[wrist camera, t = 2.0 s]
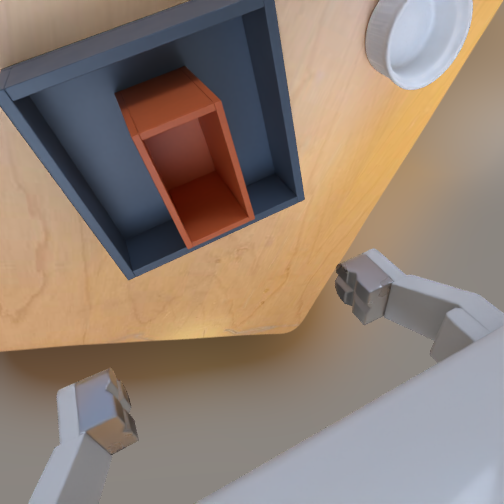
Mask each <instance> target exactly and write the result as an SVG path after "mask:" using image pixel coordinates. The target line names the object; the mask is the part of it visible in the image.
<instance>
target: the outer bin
mask: <svg viewBox="0 0 504 504" xmlns="http://www.w3.org/2000/svg"><path fill="white" fill-rule="evenodd" d="M183 66H186V67H187V68H188V69H189V70H190V71H191V72H192V73H193V74H194V75H195V76H196V77H197V78H198V79H199V80H200V81H201V82H202V83H203V84H204V85H205V86H206V87H207V88H209V89H210V90H211V91H212V92H213V93H214V94H215V95H216V96H217V97H218V98H219V99H220V100H221V102H222V105H223V109H224V112H225V116H226V119H227V123H228V126H229V129H230V133H231V136H232V140H233V143H234V147H235V150H236V154H237V157H238V161H239V164H240V168H241V171H242V174H243V178H244V181H245V185H246V188H247V192H248V195H249V199H250V202H251V206H252V209H253V213H254V216H255V219H254V220H252V221H249V222H247V223H245V224H243V225H241V226H238V227H236V228H234V229H232V230H230V231H228V232H225V233H223V234H221V235H219V236H217V237H214V238H212V239H210V240H208V241H206V242H203V243H201V244H199V245H197V246H195V247H194V246H193V248H190V249H187V247H186V245H185V243H184V241H183V239H182V237H181V235H180V233H179V231H178V229H177V227H176V225H175V223H174V221H173V219H172V217H171V215H170V213H169V211H168V209H167V207H166V205H165V203H164V201H163V199H162V197H161V195H160V193H159V191H158V189H157V187H156V185H155V183H154V181H153V179H152V177H151V175H150V174H149V172H148V170H147V168H146V166H145V164H144V162H143V160H142V158H141V156H140V154H139V152H138V150H137V148H136V146H135V144H134V142H133V140H132V138H131V135H130V133H129V130H128V128H127V125H126V123H125V120H124V117H123V115H122V112H121V110H120V107H119V105H118V102H117V99H116V97H115V94H114V93H116V92H119V91H121V90H124V89H127V88H129V87H132V86H134V85H137V84H139V83H142V82H145V81H147V80H150V79H152V78H155V77H157V76H160V75H163V74H165V73H168V72H170V71H173V70H176V69H178V68H181V67H183ZM0 107H1V108H2V109H3V111H4V112H5V113H6V115H7V116H8V117H9V119H10V120H11V122H12V123H13V124H14V126H15V127H16V128H17V130H18V131H19V132H20V134H21V135H22V137H23V138H24V139H25V141H26V142H27V143H28V145H29V146H30V147H31V149H32V150H33V151H34V153H35V154H36V156H37V157H38V158H39V160H40V161H41V162H42V164H43V165H44V166H45V168H46V169H47V170H48V172H49V173H50V175H51V176H52V177H53V179H54V180H55V181H56V183H57V184H58V185H59V187H60V188H61V189H62V191H63V192H64V194H65V195H66V196H67V198H68V199H69V200H70V202H71V203H72V204H73V206H74V207H75V208H76V210H77V211H78V213H79V214H80V215H81V217H82V218H83V219H84V221H85V222H86V223H87V225H88V226H89V227H90V229H91V230H92V232H93V233H94V234H95V236H96V237H97V238H98V240H99V241H100V242H101V244H102V245H103V247H104V248H105V249H106V251H107V252H108V253H109V255H110V256H111V257H112V259H113V260H114V261H115V263H116V264H117V266H118V267H119V268H120V270H121V271H122V272H123V274H124V275H125V276H126V278H127V279H128V280H130V279H133V278H135V277H137V276H139V275H142V274H144V273H146V272H148V271H150V270H152V269H155V268H157V267H159V266H161V265H163V264H166V263H168V262H170V261H172V260H174V259H176V258H179V257H181V256H183V255H185V254H187V253H190V252H192V251H194V250H196V249H198V248H200V247H203V246H205V245H207V244H209V243H211V242H213V241H216V240H218V239H220V238H222V237H224V236H227V235H229V234H231V233H233V232H235V231H237V230H240V229H242V228H244V227H246V226H248V225H250V224H253V223H255V222H257V221H259V220H261V219H264V218H266V217H268V216H270V215H272V214H274V213H277V212H279V211H281V210H283V209H285V208H287V207H290V206H292V205H294V204H296V203H298V202H300V201H303V200H305V198H304V191H303V185H302V178H301V171H300V165H299V158H298V152H297V145H296V139H295V132H294V126H293V119H292V112H291V106H290V99H289V93H288V86H287V80H286V73H285V67H284V60H283V53H282V47H281V40H280V34H279V27H278V21H277V14H276V8H275V1H274V0H190V1H188V2H185V3H182V4H179V5H177V6H174V7H171V8H168V9H166V10H163V11H160V12H157V13H155V14H152V15H149V16H146V17H144V18H141V19H138V20H135V21H133V22H130V23H127V24H124V25H122V26H119V27H116V28H113V29H111V30H108V31H105V32H102V33H100V34H97V35H94V36H91V37H89V38H86V39H83V40H81V41H78V42H75V43H72V44H70V45H67V46H64V47H61V48H59V49H56V50H53V51H50V52H48V53H45V54H42V55H39V56H37V57H34V58H31V59H28V60H26V61H23V62H20V63H17V64H15V65H12V66H9V67H6V68H4V69H2V70H1V72H0Z"/></svg>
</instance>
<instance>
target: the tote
mask: <svg viewBox="0 0 504 504" xmlns="http://www.w3.org/2000/svg"><path fill="white" fill-rule="evenodd" d="M114 94H115V97H116V99H117V102H118V105H119V107H120V110H121V112H122V115H123V117H124V120H125V123H126V125H127V128H128V130H129V133H130V135H131V138H132V140H133V142H134V144H135V146H136V148H137V150H138V152H139V154H140V156H141V158H142V160H143V162H144V164H145V166H146V168H147V170H148V172H149V174H150V175H151V177H152V179H153V181H154V183H155V185H156V187H157V189H158V191H159V193H160V195H161V197H162V199H163V201H164V203H165V205H166V207H167V209H168V211H169V213H170V215H171V217H172V219H173V221H174V223H175V225H176V227H177V229H178V231H179V233H180V235H181V237H182V239H183V241H184V243H185V245H186V247H187V249H190V248H193V246H194V247H195V246H197V245H199V244H201V243H203V242H206V241H208V240H210V239H212V238H214V237H217V236H219V235H221V234H223V233H225V232H228V231H230V230H232V229H234V228H236V227H238V226H241V225H243V224H245V223H247V222H249V221H252V220H254V219H255V216H254V213H253V209H252V206H251V202H250V199H249V195H248V192H247V188H246V185H245V181H244V178H243V174H242V171H241V168H240V164H239V161H238V157H237V154H236V150H235V147H234V143H233V140H232V136H231V133H230V129H229V126H228V123H227V119H226V116H225V112H224V109H223V105H222V102H221V100H220V99H219V98H218V97H217V96H216V95H215V94H214V93H213V92H212V91H211V90H210V89H209V88H207V87H206V86H205V85H204V84H203V83H202V82H201V81H200V80H199V79H198V78H197V77H196V76H195V75H194V74H193V73H192V72H191V71H190V70H189V69H188V68H187V67H186V66H183V67H181V68H178V69H176V70H173V71H170V72H168V73H165V74H163V75H160V76H157V77H155V78H152V79H150V80H147V81H145V82H142V83H139V84H137V85H134V86H132V87H129V88H127V89H124V90H121V91H119V92H116V93H114Z"/></svg>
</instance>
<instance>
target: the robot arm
mask: <svg viewBox="0 0 504 504" xmlns="http://www.w3.org/2000/svg"><path fill="white" fill-rule="evenodd" d="M336 273H337V274H338V277H337V279H336V280H335V288H336V291H337V294H338V295H339V297H340V299H341V300H342V301H343V302H344V303H345V304H348V305H351V306H352V312H353V313H354V315H355V316H356V317H357V318H358V319H359V320H360V321H361V322H362V324H363V325H366V324H368V323H370V322H372V321H374V320H376V319H378V318H381V317H382V316H384V317H385V318H386V319H389V320H391V321H393V322H395V323H397V324H399V325H402V326H404V327H406V328H408V329H410V330H412V331H415V332H417V333H419V334H421V335H423V336H425V337H428V338H430V339H432V340H434V343H433V346H432V348H431V350H430V356H431V357H432V358H433V359H434V360H435V361H436V362H437V364H435V365H434V366H432V367H430V368H428V369H427V370H425V371H423V372H421V373H420V374H418V375H416V376H415V377H413V378H411V379H409V380H408V381H406V382H404V383H402V384H401V385H399V386H398V387H395V388H394V389H392V390H390V391H389V392H387V393H385V394H383V395H382V396H380V397H378V398H376V399H375V400H373V401H371V402H369V403H368V404H366V405H364V406H362V407H361V408H359V409H357V410H356V411H354V412H352V413H350V414H349V415H347V416H345V417H343V418H342V419H340V420H338V421H337V422H335V423H333V424H331V425H330V426H328V427H326V428H324V429H323V430H321V431H319V432H317V433H316V434H314V435H312V436H310V437H309V438H307V439H305V440H303V441H302V442H300V443H299V444H296V445H295V446H293V447H291V448H290V449H288V450H286V451H284V452H283V453H281V454H280V455H277V456H276V457H274V458H272V459H270V460H269V461H267V462H266V463H264V464H262V465H260V466H258V467H257V468H255V469H253V470H251V471H250V472H248V473H247V474H244V475H243V476H241V477H239V478H238V479H236V480H234V481H232V482H231V483H229V484H227V485H225V486H224V487H222V488H220V489H218V490H217V491H215V492H213V493H212V494H210V495H208V496H206V497H205V498H203V499H201V500H199V501H198V502H196V503H194V504H504V314H503V313H502V312H501V311H500V310H498V309H497V308H496V307H495V306H493V305H492V304H490V303H489V302H488V301H487V300H486V299H484V298H483V297H482V296H480V295H479V294H476V293H473V292H469V291H466V290H463V289H459V288H456V287H452V286H449V285H445V284H442V283H438V282H435V281H432V280H428V279H425V278H422V277H418V276H414V275H406V274H404V273H403V272H402V271H401V270H400V269H399V268H398V267H396V266H395V265H394V264H393V263H392V262H391V261H390V260H388V259H387V258H386V257H385V256H384V255H383V254H381V253H380V252H379V251H378V250H376V249H371V250H369V251H366V252H364V253H362V254H359V255H357V256H355V257H353V258H351V259H349V260H346V261H344V262H342V263H340V264H338V265H337V267H336ZM130 409H131V404H130V399H129V396H128V394H127V391H126V389H125V387H124V385H123V383H122V382H121V380H118V379H116V376H115V372H114V371H113V370H112V369H111V368H108V369H106V370H104V371H101V372H100V373H97V374H94V375H92V376H90V377H88V378H85V379H83V380H81V381H78V382H76V383H73V384H71V385H69V386H67V387H65V388H62V389H60V390H58V393H57V410H58V422H59V423H58V424H59V439H60V445H58V446H57V447H55V448H54V450H53V452H52V454H51V456H50V459H49V460H48V463H47V465H46V467H45V469H44V471H43V473H42V475H41V477H40V479H39V482H38V484H37V486H36V488H35V490H34V492H33V494H32V496H31V498H30V501H29V503H28V504H99V501H100V498H101V494H102V490H103V487H104V484H105V480H106V477H107V473H108V470H109V466H110V463H111V459H112V456H111V455H113V454H114V453H116V452H118V451H120V450H122V449H124V448H126V447H127V446H129V445H131V444H133V443H135V442H137V441H138V440H139V439H138V434H137V430H136V425H135V421H134V419H133V418H132V417H131V416H130V414H129V412H130Z"/></svg>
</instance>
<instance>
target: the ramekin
mask: <svg viewBox="0 0 504 504" xmlns="http://www.w3.org/2000/svg"><path fill="white" fill-rule="evenodd" d="M472 11H473V1H472V0H380V1H379V2H378V4H377V5H376V7H375V9H374V11H373V13H372V15H371V17H370V20H369V23H368V27H367V32H366V40H365V47H366V54H367V58H368V60H369V62H370V64H371V65H372V67H373V68H374V69H375V70H377V71H378V72H379V73H381V74H383V75H384V76H386V77H388V78H390V79H391V80H392V82H394V83H395V84H396V85H397V86H399V87H401V88H403V89H407V90H415V89H420V88H423V87H425V86H427V85H429V84H430V83H432V82H433V81H435V80H436V79H437V78H439V77H440V76H441V75H442V74H443V73H444V72H445V71H446V70H447V69H448V67H449V66H450V65H451V64H452V62H453V61H454V60H455V58H456V57H457V55H458V53H459V52H460V50H461V48H462V46H463V44H464V42H465V39H466V37H467V34H468V31H469V28H470V24H471V19H472Z"/></svg>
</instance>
